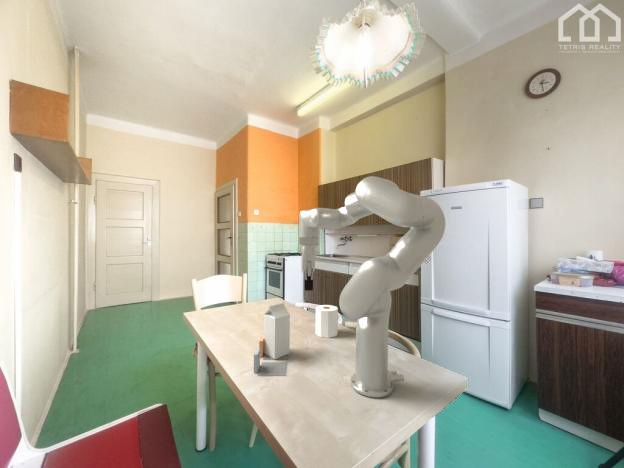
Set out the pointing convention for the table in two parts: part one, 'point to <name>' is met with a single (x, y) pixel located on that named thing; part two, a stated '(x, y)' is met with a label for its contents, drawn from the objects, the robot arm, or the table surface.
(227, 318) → the table surface
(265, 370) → the tag station
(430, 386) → the table surface
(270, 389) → the table surface
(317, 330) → the toilet paper
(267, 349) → the milk carton
